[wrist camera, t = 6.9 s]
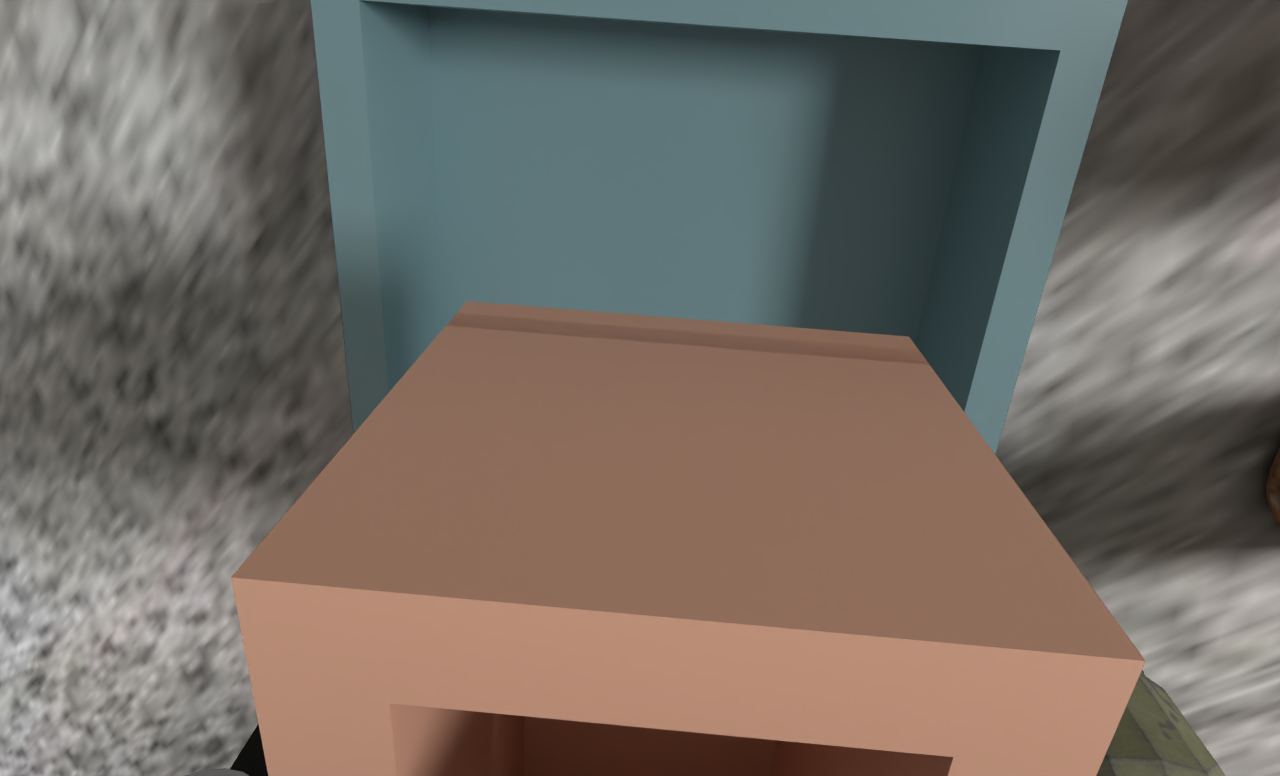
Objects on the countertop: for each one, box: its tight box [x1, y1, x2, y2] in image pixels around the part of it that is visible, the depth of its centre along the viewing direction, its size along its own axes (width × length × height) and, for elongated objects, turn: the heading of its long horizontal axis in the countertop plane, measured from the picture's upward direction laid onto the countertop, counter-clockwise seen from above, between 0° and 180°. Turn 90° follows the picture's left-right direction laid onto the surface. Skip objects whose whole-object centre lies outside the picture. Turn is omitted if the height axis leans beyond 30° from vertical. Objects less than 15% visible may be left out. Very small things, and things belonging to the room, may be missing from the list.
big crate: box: [311, 0, 1128, 454], centre depth 21 cm, size 16×18×6 cm
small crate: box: [231, 301, 1146, 776], centre depth 10 cm, size 9×6×6 cm, turn 176°
